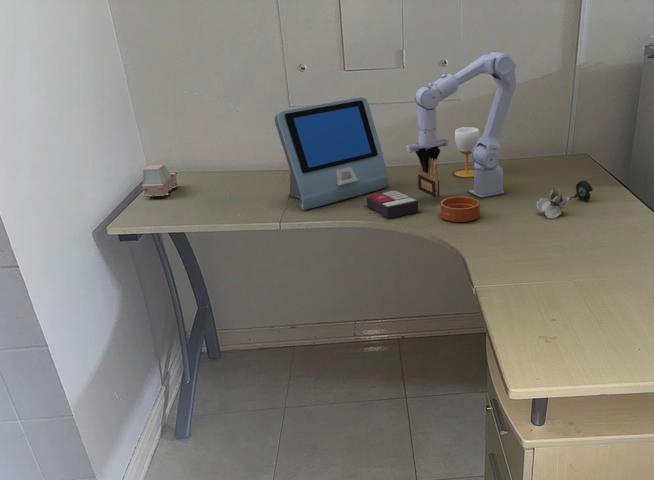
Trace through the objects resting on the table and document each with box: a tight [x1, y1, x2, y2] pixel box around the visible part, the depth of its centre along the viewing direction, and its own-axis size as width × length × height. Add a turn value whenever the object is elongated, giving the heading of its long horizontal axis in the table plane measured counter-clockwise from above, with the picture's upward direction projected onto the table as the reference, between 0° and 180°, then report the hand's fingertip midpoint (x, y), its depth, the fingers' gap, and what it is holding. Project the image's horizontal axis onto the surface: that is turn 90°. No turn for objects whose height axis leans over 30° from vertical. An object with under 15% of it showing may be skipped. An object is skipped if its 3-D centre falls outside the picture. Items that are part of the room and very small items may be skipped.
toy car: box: [141, 164, 178, 197], centre depth 226 cm, size 9×15×10 cm, turn 1°
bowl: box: [439, 196, 481, 223], centre depth 197 cm, size 12×12×4 cm
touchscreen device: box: [274, 97, 389, 211], centre depth 214 cm, size 35×20×30 cm, turn 131°
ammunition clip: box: [417, 157, 440, 198], centre depth 208 cm, size 11×2×12 cm, turn 30°
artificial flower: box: [536, 180, 594, 219], centre depth 201 cm, size 9×22×10 cm, turn 129°
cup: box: [454, 126, 480, 178], centre depth 234 cm, size 9×9×16 cm
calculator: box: [366, 190, 419, 219], centre depth 205 cm, size 11×4×15 cm
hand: (428, 171), depth 208 cm, fingers closed on ammunition clip, 1 cm apart
